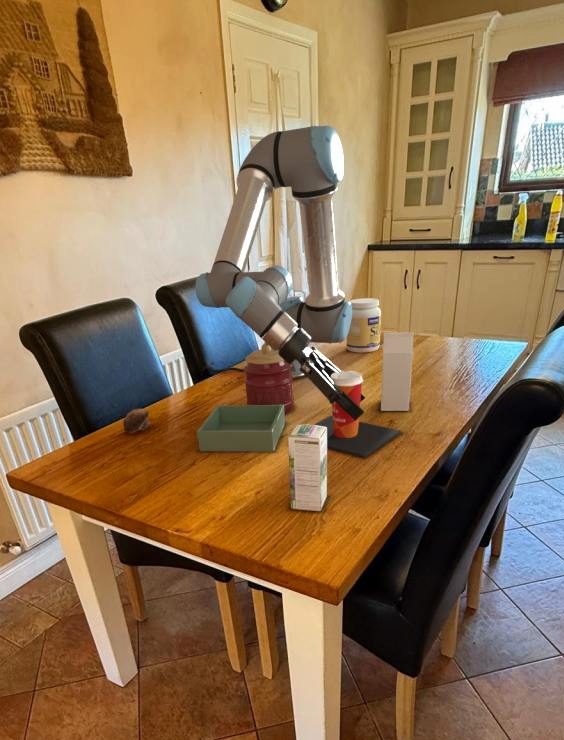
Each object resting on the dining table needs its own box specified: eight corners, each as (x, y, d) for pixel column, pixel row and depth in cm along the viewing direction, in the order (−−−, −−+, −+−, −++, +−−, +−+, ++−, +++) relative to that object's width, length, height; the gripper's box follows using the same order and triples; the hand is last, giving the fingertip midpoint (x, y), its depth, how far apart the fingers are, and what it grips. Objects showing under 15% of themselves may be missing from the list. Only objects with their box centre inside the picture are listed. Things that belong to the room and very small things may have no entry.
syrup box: (298, 494, 99) (294, 423, 92) (328, 496, 97) (327, 424, 90) (290, 509, 94) (286, 435, 87) (322, 512, 93) (320, 437, 85)
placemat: (292, 438, 123) (292, 436, 122) (330, 417, 133) (330, 415, 132) (364, 457, 111) (364, 455, 110) (400, 433, 121) (400, 430, 120)
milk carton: (408, 411, 132) (413, 335, 123) (380, 411, 134) (383, 336, 124) (408, 402, 138) (413, 329, 129) (381, 402, 140) (384, 330, 130)
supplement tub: (371, 354, 182) (373, 304, 174) (340, 352, 188) (340, 303, 180) (385, 346, 191) (387, 297, 182) (355, 344, 197) (355, 297, 188)
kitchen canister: (301, 403, 144) (298, 338, 135) (282, 419, 134) (278, 350, 125) (260, 399, 149) (254, 337, 140) (239, 415, 139) (231, 348, 130)
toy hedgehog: (161, 414, 134) (143, 398, 131) (149, 436, 130) (130, 419, 127) (145, 424, 139) (127, 408, 136) (132, 445, 135) (113, 430, 132)
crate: (199, 451, 120) (196, 431, 118) (219, 423, 135) (216, 405, 132) (273, 451, 117) (272, 431, 114) (285, 422, 132) (284, 404, 129)
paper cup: (326, 429, 125) (325, 371, 117) (358, 426, 125) (359, 368, 118) (332, 441, 118) (332, 381, 111) (365, 438, 118) (367, 378, 111)
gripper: (283, 340, 123) (350, 403, 128) (268, 365, 105) (346, 437, 110) (305, 316, 120) (372, 382, 125) (292, 337, 101) (372, 414, 107)
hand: (360, 408), depth 118 cm, fingers open, 9 cm apart
